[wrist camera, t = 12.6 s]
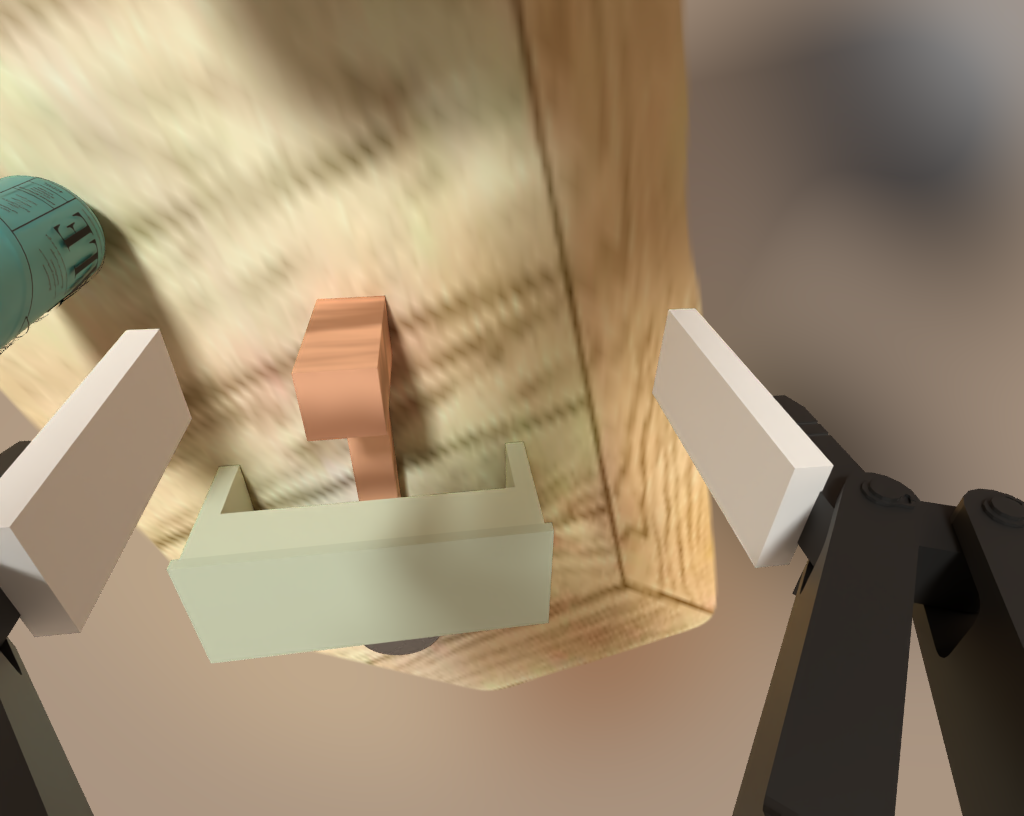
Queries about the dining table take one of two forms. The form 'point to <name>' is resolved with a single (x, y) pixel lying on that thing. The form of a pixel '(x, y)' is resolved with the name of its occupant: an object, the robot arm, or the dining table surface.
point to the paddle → (350, 387)
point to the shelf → (363, 567)
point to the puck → (402, 646)
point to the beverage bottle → (42, 250)
